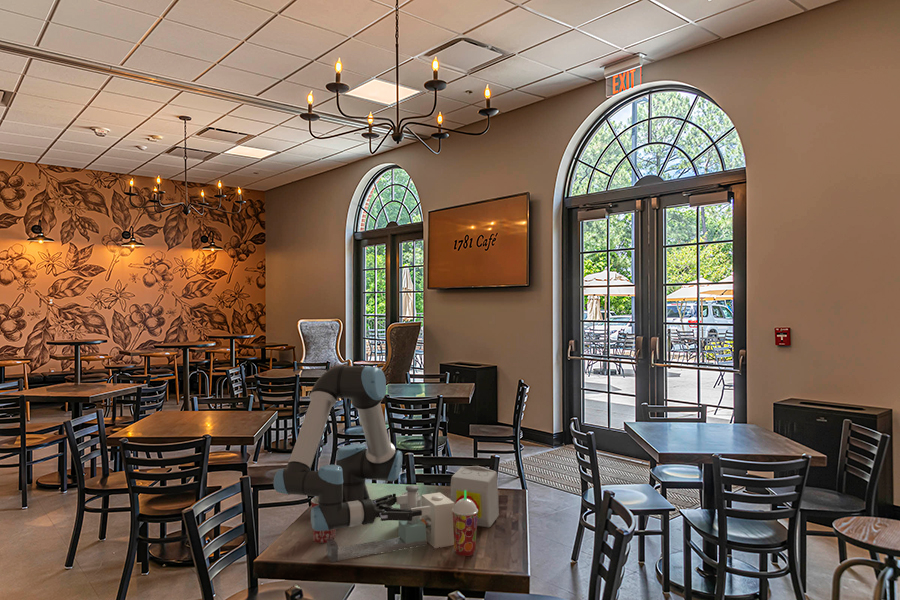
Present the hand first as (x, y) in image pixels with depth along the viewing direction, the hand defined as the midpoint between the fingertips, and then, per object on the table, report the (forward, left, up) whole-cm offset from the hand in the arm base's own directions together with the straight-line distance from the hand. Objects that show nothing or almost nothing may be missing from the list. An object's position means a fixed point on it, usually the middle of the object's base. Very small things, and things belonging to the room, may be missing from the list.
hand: (422, 503), depth 200 cm
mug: (-18, -28, -13) cm, 36 cm away
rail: (0, -15, -13) cm, 20 cm away
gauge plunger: (0, +4, -9) cm, 10 cm away
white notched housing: (0, +6, -13) cm, 14 cm away
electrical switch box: (-9, +24, -13) cm, 29 cm away
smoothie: (+13, +10, -13) cm, 21 cm away
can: (-15, +2, -13) cm, 20 cm away
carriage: (0, -4, -11) cm, 11 cm away
